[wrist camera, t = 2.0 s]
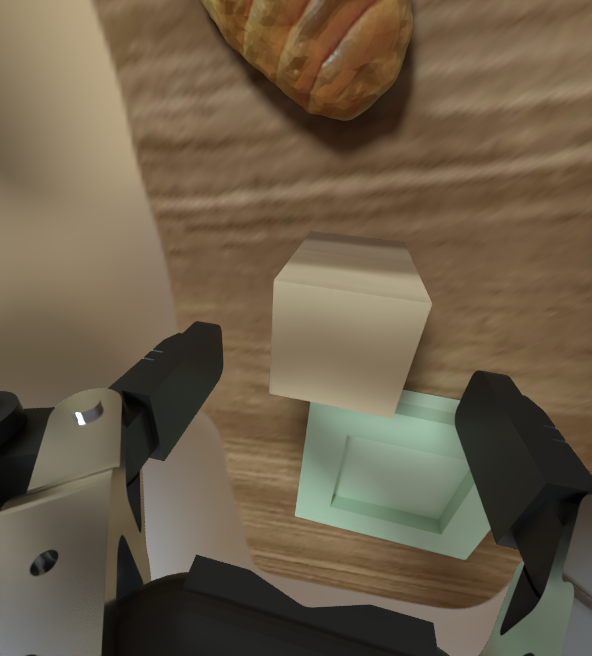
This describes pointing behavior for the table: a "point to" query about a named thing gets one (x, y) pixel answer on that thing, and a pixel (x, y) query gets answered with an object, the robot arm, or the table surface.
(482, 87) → the table surface
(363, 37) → the pastry
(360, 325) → the wooden block
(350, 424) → the plate
